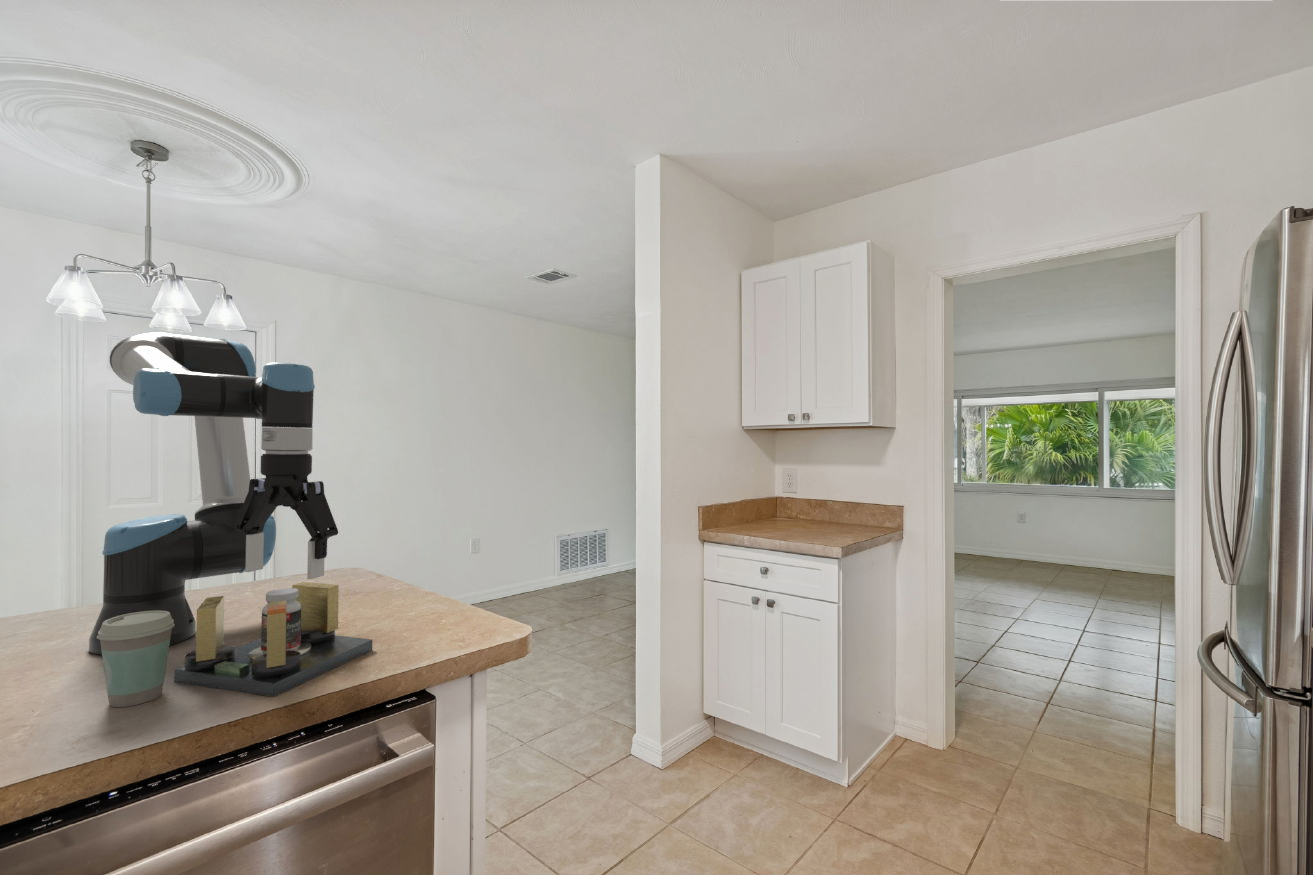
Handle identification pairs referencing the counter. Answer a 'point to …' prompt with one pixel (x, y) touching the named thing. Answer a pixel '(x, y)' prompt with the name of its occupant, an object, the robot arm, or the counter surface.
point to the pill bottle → (291, 617)
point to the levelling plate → (241, 680)
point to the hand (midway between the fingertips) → (284, 574)
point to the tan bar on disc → (276, 647)
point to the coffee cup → (135, 656)
